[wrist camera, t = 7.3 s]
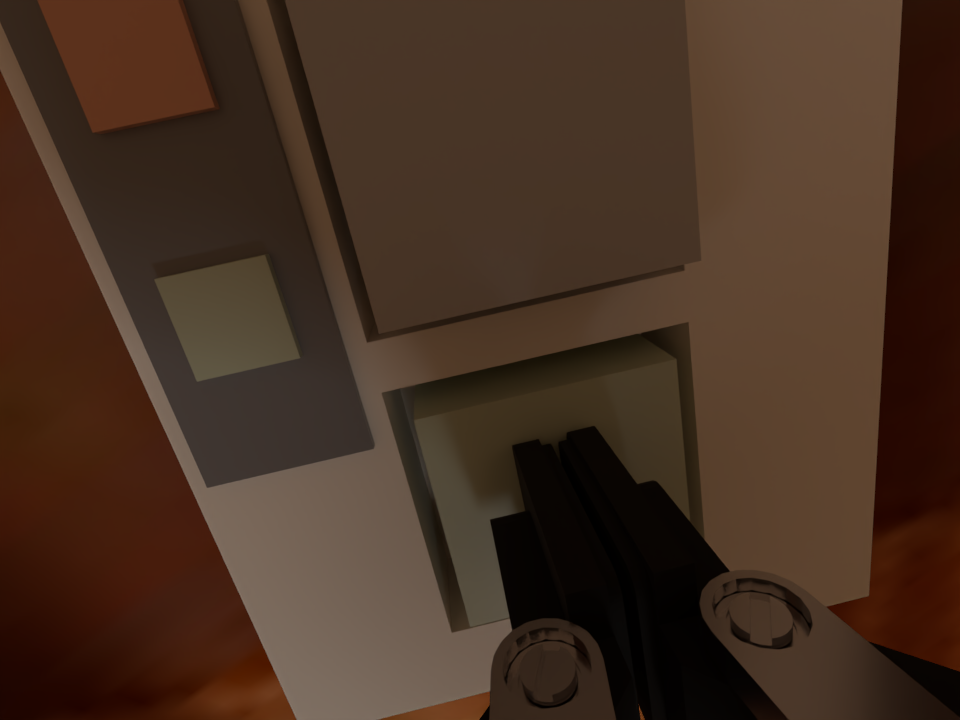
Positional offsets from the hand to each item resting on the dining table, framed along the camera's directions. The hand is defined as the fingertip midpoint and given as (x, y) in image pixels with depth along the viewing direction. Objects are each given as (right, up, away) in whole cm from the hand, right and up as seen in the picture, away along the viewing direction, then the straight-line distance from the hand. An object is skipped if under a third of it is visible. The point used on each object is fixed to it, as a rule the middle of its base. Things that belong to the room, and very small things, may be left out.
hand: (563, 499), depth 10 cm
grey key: (-1, +7, -1) cm, 7 cm away
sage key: (0, +1, +2) cm, 3 cm away
